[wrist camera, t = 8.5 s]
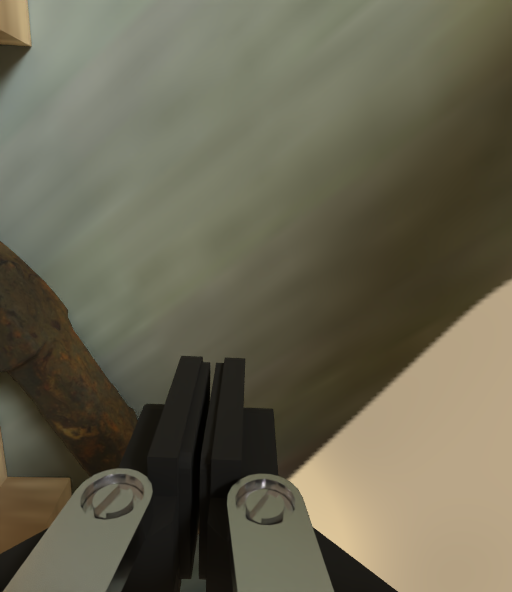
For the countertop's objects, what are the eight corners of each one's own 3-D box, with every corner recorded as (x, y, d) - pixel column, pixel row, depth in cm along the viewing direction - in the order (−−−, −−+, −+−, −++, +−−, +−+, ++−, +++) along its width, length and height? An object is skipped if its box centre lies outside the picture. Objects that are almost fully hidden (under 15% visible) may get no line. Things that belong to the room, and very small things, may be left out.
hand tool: (211, 493, 26) (206, 560, 22) (152, 517, 27) (135, 588, 22) (32, 199, 21) (-22, 210, 17) (-39, 235, 21) (-112, 254, 17)
